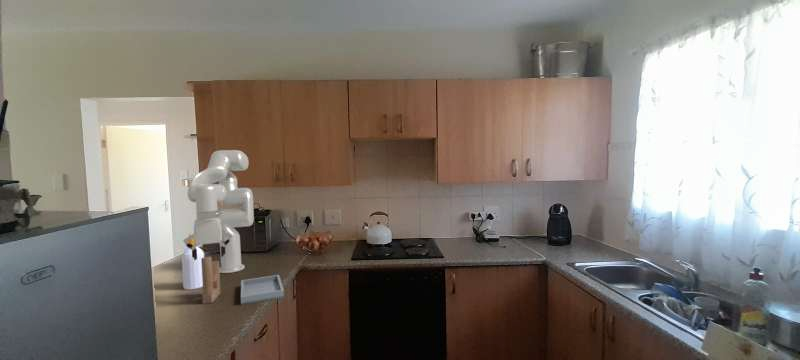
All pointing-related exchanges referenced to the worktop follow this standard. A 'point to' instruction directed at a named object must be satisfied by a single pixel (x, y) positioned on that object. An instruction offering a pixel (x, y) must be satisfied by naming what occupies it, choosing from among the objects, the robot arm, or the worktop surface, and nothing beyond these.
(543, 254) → the worktop surface
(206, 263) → the wooden mallet
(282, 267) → the worktop surface
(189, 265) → the soap bottle
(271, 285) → the tray
